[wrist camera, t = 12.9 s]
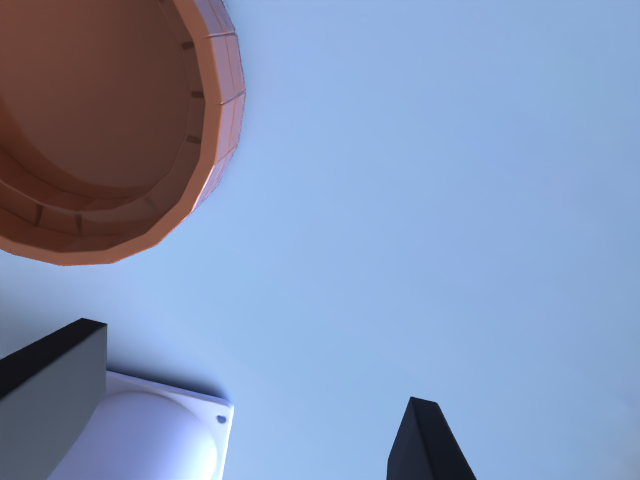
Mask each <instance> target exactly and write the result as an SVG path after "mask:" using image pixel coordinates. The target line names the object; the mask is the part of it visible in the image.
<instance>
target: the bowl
mask: <svg viewBox="0 0 640 480" xmlns="http://www.w3.org/2000/svg"><path fill="white" fill-rule="evenodd" d="M244 91H245V83H244V77H243V70H242V64H241V58H240V52H239V46H238V39H237V35H236V34H235V29H234V27H233V25H232V22H231V20H230V18H229V16H228V14H227V12H226V10H225V7H224V5H223V3H222V1H221V0H0V249H2V250H4V251H6V252H8V253H11V254H13V255H17V256H21V257H26V258H30V259H34V260H38V261H42V262H46V263H51V264H55V265H59V266H76V265H95V264H111V263H115V262H117V261H120V260H122V259H125V258H127V257H129V256H132V255H134V254H137V253H139V252H142V251H144V250H147V249H149V248H152V247H154V246H156V245H157V244H159V243H160V242H161V241H162V240H163V239H164V238H165V237H166V236H167V235H168V234H169V233H170V232H172V231H173V230H174V229H175V228H176V227H177V226H178V225H179V224H180V223H181V222H182V221H183V220H185V219H186V218H187V217H188V216H189V215H190V214H191V213H192V212H193V211H194V210H195V209H196V208H197V207H198V206H199V205H200V204H201V203H202V202H203V200H204V199H205V198H206V197H207V196H208V195H209V194H210V193H211V192H212V191H213V190H214V189H215V188H216V186H217V185H218V184H219V182H220V180H221V178H222V176H223V174H224V172H225V170H226V168H227V166H228V164H229V162H230V160H231V158H232V156H233V154H234V152H235V150H236V148H237V146H238V142H239V137H240V130H241V123H242V116H243V109H244V102H245V94H246V93H245V92H244Z"/></svg>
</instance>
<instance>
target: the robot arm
mask: <svg viewBox="0 0 640 480" xmlns="http://www.w3.org/2000/svg"><path fill="white" fill-rule="evenodd" d="M106 358H107V324H106V323H102V322H98V321H93V320H89V319H85V318H81V319H79V320H77V321H75V322H72V323H70V324H68V325H67V326H65V327H63V328H61V329H59V330H57V331H55V332H53V333H51V334H49V335H47V336H45V337H44V338H42V339H40V340H38V341H36V342H34V343H32V344H30V345H28V346H26V347H24V348H22V349H20V350H18V351H16V352H14V353H12V354H10V355H8V356H6V357H4V358H2V359H0V480H222V474H223V468H224V463H225V457H226V451H227V446H228V440H229V435H230V429H231V423H232V418H233V412H234V406H233V404H232V403H231V402H230V401H228V400H226V399H222V398H218V397H214V396H209V395H205V394H201V393H197V392H193V391H189V390H185V389H181V388H176V387H172V386H168V385H164V384H160V383H156V382H152V381H148V380H143V379H139V378H135V377H131V376H127V375H123V374H119V373H115V372H110V371H106ZM219 415H222V416H224V417H225V418H223V417H220V416H219ZM386 480H477V479H476V477H475V475H474V474H473V472H472V470H471V468H470V466H469V465H468V463H467V461H466V459H465V457H464V455H463V453H462V451H461V449H460V447H459V445H458V443H457V441H456V439H455V437H454V435H453V433H452V431H451V429H450V427H449V425H448V423H447V421H446V419H445V417H444V415H443V413H442V411H441V409H440V407H439V405H438V404H437V403H436V402H432V401H428V400H424V399H419V398H415V397H410V400H409V403H408V405H407V408H406V411H405V414H404V416H403V419H402V422H401V425H400V427H399V430H398V433H397V436H396V438H395V441H394V444H393V447H392V449H391V452H390V455H389V458H388V465H387V479H386Z"/></svg>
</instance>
